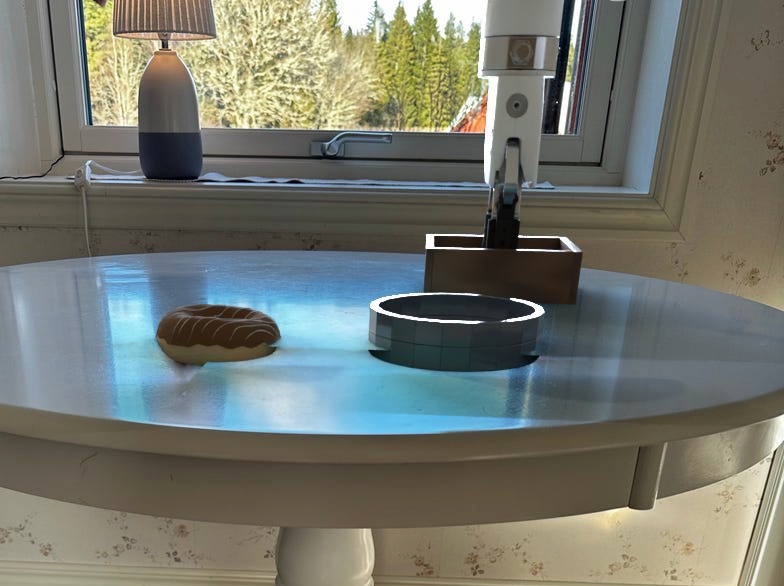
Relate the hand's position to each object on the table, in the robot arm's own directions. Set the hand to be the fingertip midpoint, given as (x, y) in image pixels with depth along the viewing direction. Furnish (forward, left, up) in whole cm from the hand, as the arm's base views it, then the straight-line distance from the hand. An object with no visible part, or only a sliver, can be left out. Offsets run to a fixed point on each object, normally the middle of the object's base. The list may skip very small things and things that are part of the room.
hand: (498, 255), depth 103 cm
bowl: (+5, +27, -5) cm, 28 cm away
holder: (0, 0, -5) cm, 5 cm away
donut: (+25, +29, -6) cm, 39 cm away
